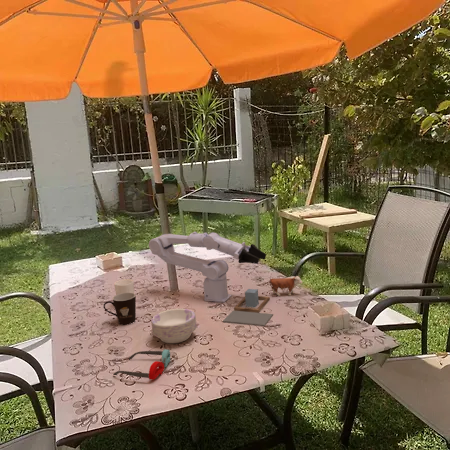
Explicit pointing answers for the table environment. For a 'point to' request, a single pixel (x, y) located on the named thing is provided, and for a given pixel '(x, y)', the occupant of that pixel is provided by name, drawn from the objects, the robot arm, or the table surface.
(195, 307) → the table surface
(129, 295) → the coffee mug
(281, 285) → the bull figurine
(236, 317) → the rubber mat
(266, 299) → the pocket frame
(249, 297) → the blue block
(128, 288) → the white cup
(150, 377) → the novelty glasses
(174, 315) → the white round bowl
